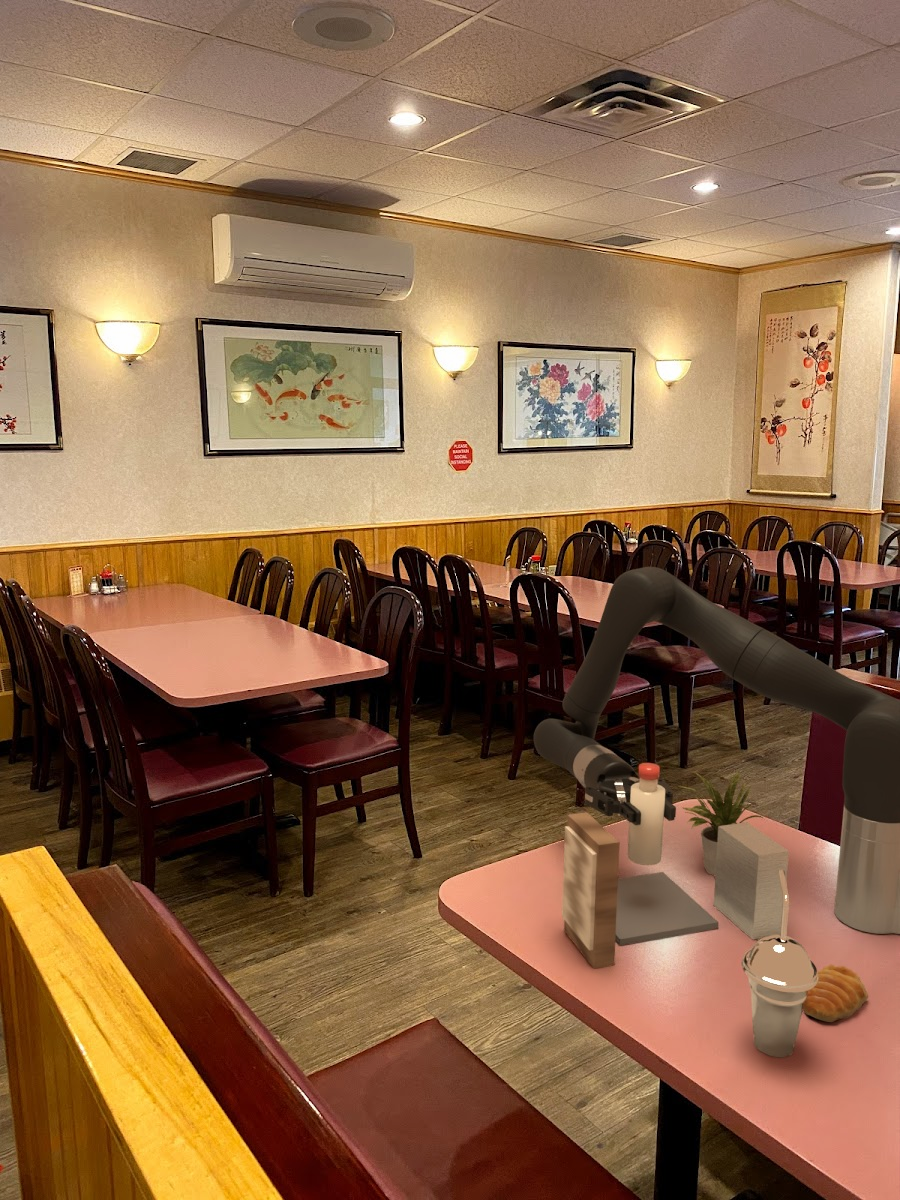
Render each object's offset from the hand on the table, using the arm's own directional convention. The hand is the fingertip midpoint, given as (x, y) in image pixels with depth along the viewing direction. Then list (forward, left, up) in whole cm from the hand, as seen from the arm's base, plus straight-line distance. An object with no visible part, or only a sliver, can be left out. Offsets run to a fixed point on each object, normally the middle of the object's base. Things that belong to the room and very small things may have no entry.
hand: (655, 816), depth 134 cm
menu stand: (+6, +12, -16) cm, 21 cm away
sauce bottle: (+2, -2, -8) cm, 8 cm away
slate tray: (+2, -2, -16) cm, 16 cm away
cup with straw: (-20, +22, -16) cm, 34 cm away
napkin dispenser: (-13, -6, -16) cm, 22 cm away
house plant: (-6, -21, -16) cm, 28 cm away
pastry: (-26, +10, -17) cm, 32 cm away
